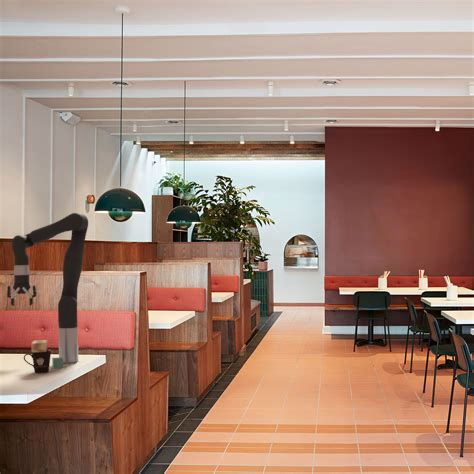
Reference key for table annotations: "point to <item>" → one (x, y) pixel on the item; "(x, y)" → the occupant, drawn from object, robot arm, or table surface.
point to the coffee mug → (40, 361)
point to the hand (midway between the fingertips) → (22, 305)
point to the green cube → (57, 362)
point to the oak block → (39, 345)
